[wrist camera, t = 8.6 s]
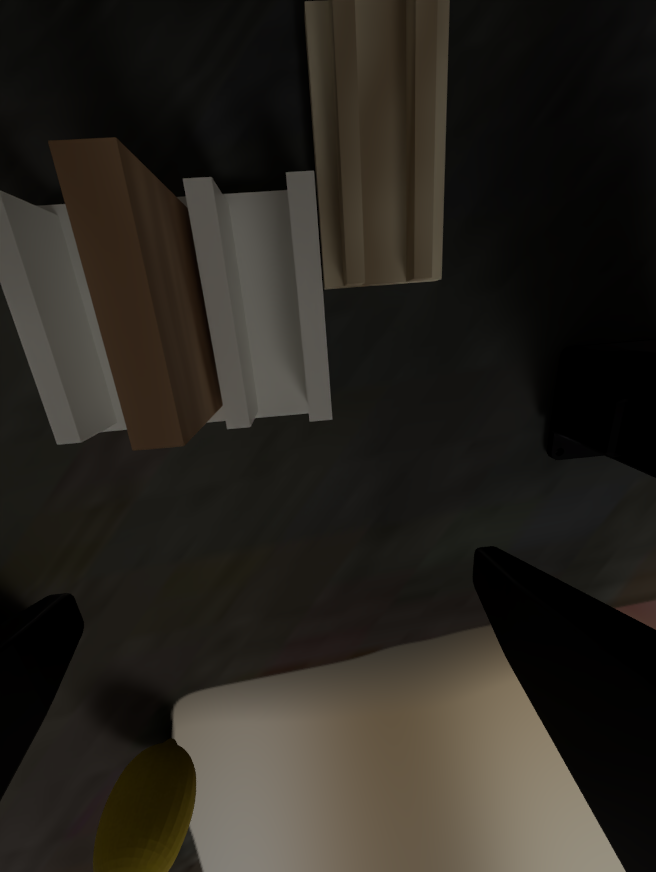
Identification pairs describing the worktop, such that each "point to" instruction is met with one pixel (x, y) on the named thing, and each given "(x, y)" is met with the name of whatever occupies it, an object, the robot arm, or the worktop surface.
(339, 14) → the stand
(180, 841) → the lemon
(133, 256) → the board
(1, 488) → the worktop surface
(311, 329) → the rack
